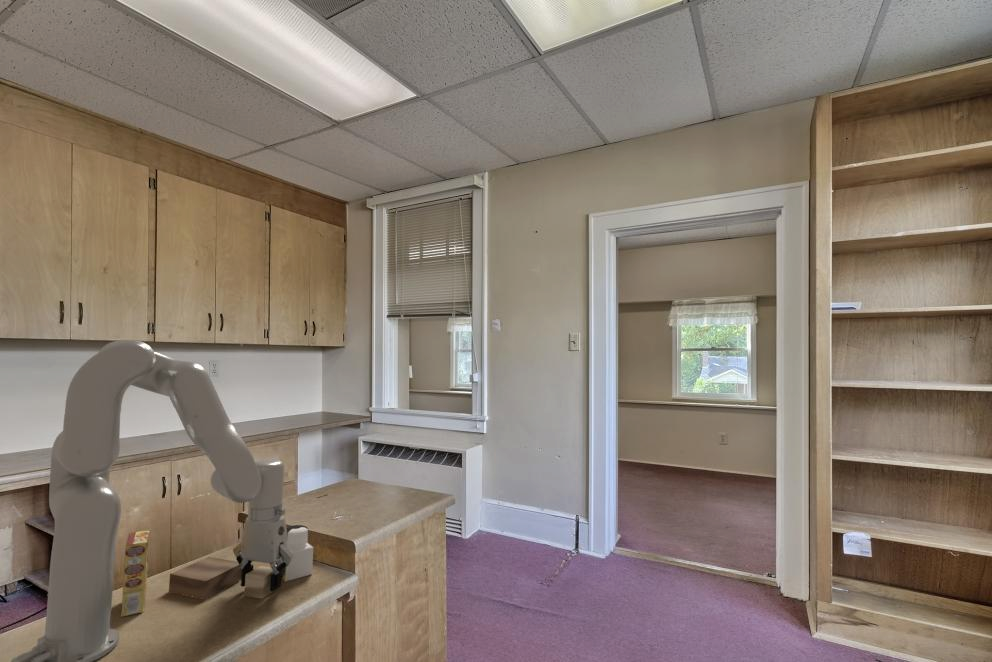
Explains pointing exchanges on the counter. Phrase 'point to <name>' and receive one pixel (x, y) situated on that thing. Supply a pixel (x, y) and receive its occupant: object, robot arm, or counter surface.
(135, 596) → the candy box
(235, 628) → the counter surface
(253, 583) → the maple cube
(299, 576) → the medicine bottle
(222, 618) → the counter surface
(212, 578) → the walnut block
